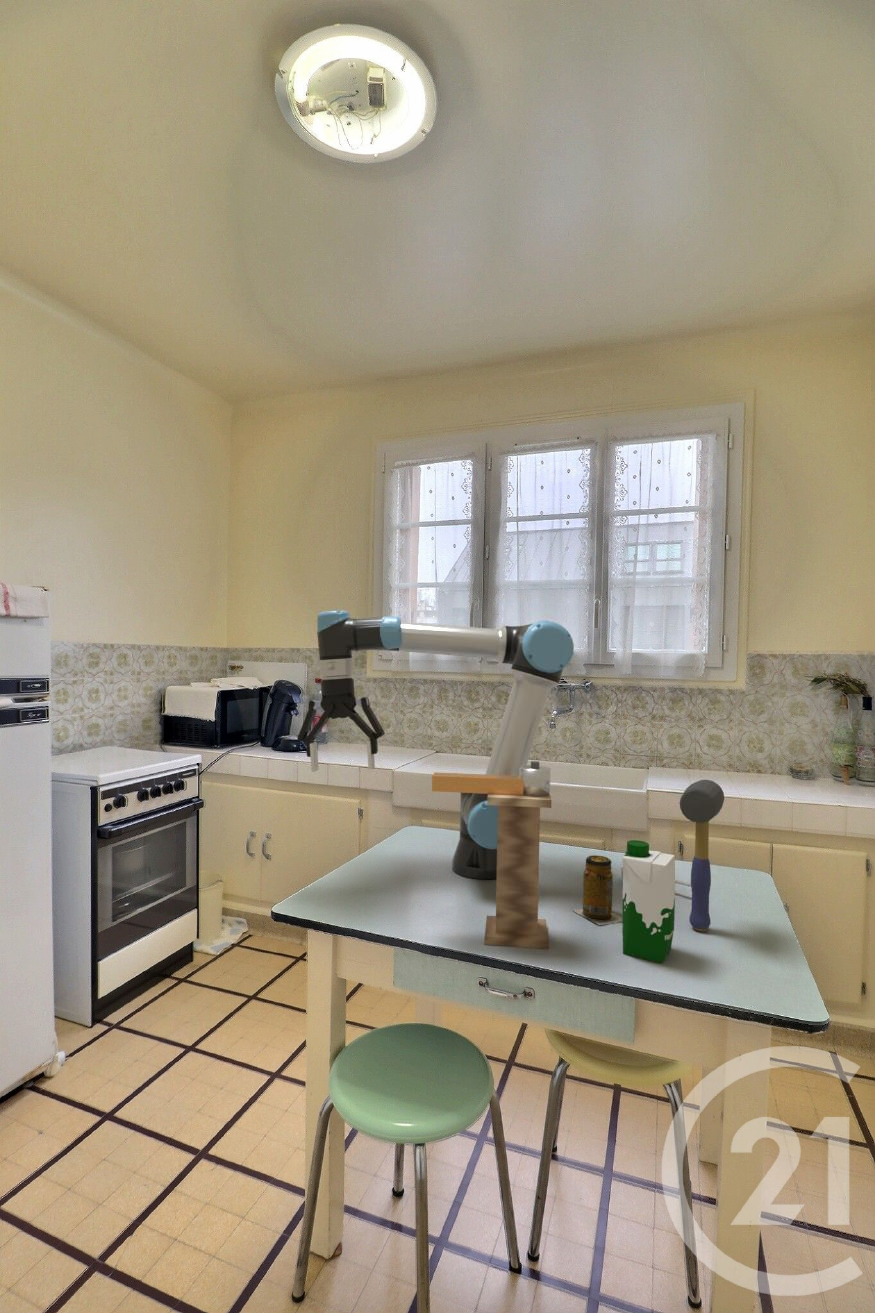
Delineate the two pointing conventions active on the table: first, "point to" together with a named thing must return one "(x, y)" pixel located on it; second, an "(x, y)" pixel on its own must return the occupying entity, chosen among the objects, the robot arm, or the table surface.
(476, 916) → the table surface
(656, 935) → the milk carton
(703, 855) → the rubber mallet
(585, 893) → the condiment
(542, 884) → the table surface
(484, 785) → the wooden handle
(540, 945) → the walnut stand
